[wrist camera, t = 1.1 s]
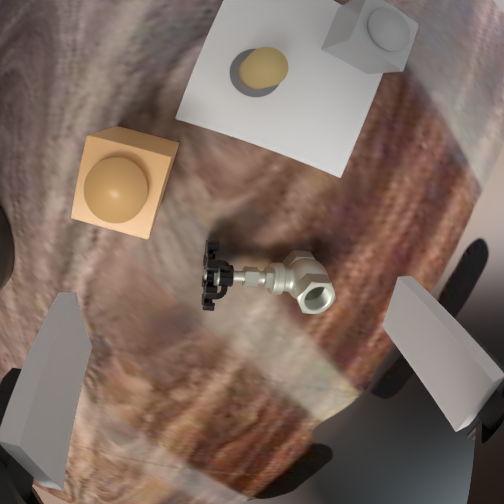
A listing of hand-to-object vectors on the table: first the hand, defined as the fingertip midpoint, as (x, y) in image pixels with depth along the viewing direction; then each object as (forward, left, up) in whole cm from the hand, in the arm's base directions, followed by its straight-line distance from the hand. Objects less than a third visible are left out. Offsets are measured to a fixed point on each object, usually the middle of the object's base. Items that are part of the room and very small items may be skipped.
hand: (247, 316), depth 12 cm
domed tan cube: (-8, 0, -19) cm, 20 cm away
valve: (+7, -6, -19) cm, 21 cm away
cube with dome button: (+6, +18, -18) cm, 26 cm away
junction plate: (+2, +13, -19) cm, 23 cm away
